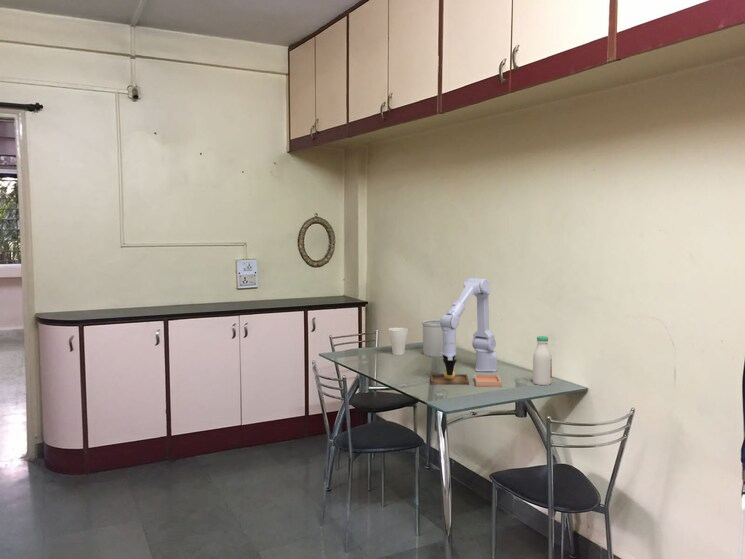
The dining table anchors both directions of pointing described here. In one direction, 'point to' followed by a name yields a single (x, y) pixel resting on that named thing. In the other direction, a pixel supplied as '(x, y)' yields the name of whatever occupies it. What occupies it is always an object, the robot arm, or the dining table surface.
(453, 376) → the ball
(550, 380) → the milk bottle
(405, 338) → the cup
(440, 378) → the tray
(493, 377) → the dish
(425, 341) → the utensil holder
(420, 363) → the dining table surface
